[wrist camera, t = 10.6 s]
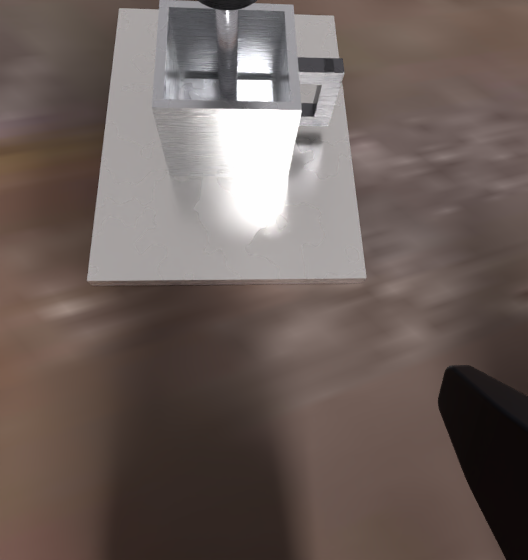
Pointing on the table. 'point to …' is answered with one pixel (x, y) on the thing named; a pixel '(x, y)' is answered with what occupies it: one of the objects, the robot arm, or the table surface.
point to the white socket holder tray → (225, 156)
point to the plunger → (227, 62)
